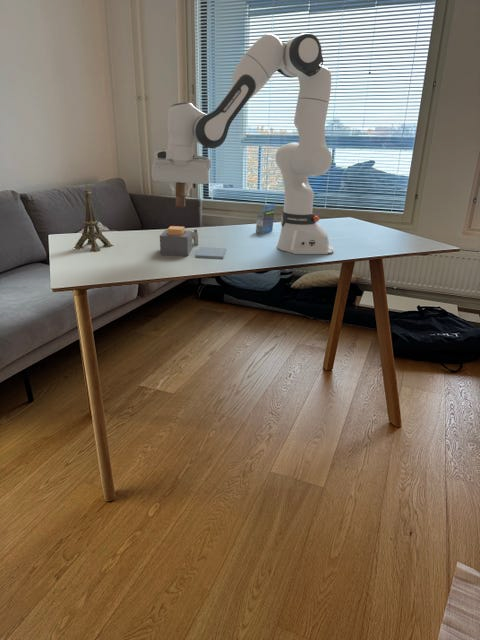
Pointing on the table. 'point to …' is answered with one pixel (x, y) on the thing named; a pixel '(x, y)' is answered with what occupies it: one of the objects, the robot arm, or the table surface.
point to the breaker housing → (176, 244)
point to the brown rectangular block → (180, 194)
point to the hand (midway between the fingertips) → (180, 195)
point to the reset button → (176, 230)
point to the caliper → (195, 237)
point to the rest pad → (211, 252)
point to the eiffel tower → (91, 227)
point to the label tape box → (265, 220)
